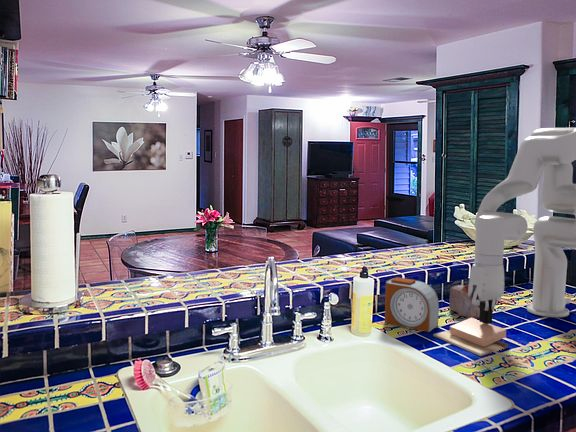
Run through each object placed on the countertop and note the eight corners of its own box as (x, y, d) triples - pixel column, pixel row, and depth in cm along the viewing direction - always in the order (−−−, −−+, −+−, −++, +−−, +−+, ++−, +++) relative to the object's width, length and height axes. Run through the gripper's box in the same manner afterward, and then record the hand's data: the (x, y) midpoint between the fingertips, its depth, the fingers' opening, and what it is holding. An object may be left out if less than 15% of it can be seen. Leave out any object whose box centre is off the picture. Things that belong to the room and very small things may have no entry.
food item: (492, 320, 171) (494, 289, 170) (471, 323, 169) (473, 292, 167) (464, 307, 184) (465, 279, 183) (444, 310, 181) (445, 281, 180)
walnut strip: (459, 329, 162) (459, 325, 162) (507, 348, 148) (507, 344, 148) (456, 330, 162) (456, 326, 161) (504, 349, 147) (504, 345, 147)
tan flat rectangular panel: (456, 330, 162) (456, 328, 162) (504, 349, 147) (504, 347, 147) (433, 336, 157) (433, 334, 157) (480, 356, 142) (480, 353, 142)
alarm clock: (382, 323, 169) (383, 280, 167) (393, 315, 175) (394, 274, 174) (428, 332, 160) (429, 287, 158) (438, 324, 167) (440, 281, 165)
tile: (471, 317, 161) (449, 326, 156) (505, 329, 150) (483, 339, 146) (471, 325, 161) (450, 334, 157) (506, 337, 151) (484, 347, 147)
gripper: (495, 254, 159) (492, 314, 162) (459, 260, 152) (456, 323, 154) (517, 259, 153) (514, 322, 155) (480, 265, 145) (477, 331, 148)
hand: (485, 322), depth 155 cm, fingers closed
